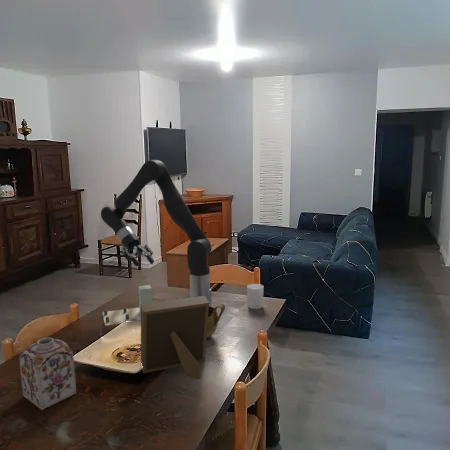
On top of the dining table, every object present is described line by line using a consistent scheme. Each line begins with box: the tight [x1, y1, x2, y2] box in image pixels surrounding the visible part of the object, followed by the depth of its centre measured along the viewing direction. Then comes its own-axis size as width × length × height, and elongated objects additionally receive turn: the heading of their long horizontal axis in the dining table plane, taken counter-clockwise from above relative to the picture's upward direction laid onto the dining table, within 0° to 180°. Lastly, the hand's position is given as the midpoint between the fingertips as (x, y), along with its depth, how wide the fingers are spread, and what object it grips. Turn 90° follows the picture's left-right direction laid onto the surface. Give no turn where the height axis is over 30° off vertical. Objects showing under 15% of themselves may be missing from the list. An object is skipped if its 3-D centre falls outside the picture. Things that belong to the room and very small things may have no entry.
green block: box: [137, 284, 153, 313], centre depth 193 cm, size 5×5×12 cm
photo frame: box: [140, 296, 209, 380], centre depth 143 cm, size 15×22×25 cm
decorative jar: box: [19, 337, 77, 411], centre depth 131 cm, size 12×12×18 cm
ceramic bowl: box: [174, 298, 226, 340], centre depth 170 cm, size 22×17×15 cm
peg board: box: [102, 306, 141, 326], centre depth 192 cm, size 24×16×4 cm, turn 110°
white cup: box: [246, 283, 265, 310], centre depth 203 cm, size 8×8×10 cm
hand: (145, 264), depth 194 cm, fingers open, 8 cm apart
